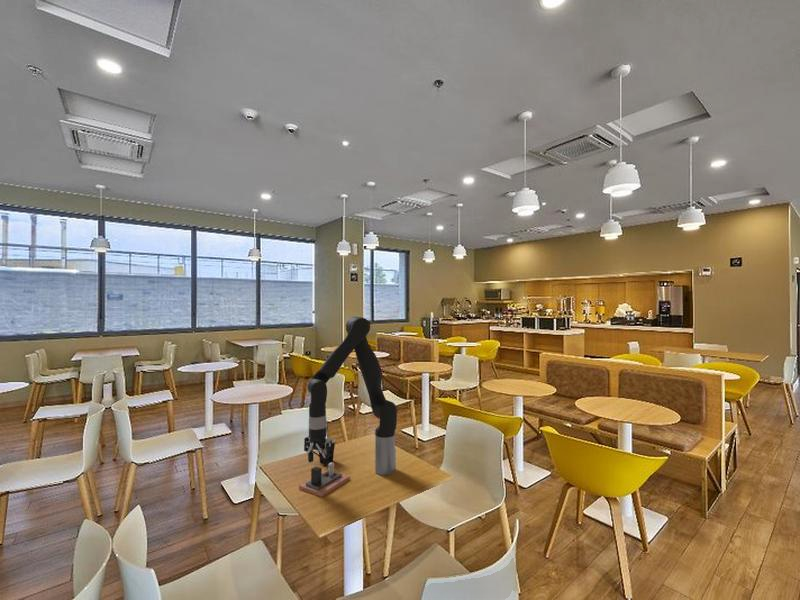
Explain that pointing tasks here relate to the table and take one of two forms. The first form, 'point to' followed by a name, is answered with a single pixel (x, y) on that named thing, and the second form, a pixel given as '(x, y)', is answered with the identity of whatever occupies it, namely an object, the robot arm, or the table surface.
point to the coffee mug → (329, 451)
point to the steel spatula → (321, 478)
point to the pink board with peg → (328, 487)
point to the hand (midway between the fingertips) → (318, 463)
